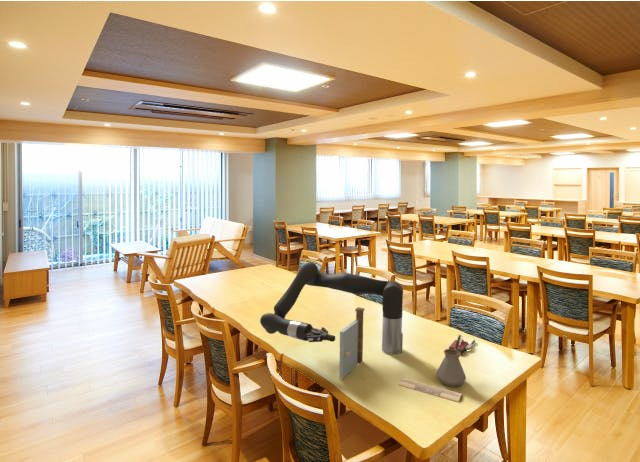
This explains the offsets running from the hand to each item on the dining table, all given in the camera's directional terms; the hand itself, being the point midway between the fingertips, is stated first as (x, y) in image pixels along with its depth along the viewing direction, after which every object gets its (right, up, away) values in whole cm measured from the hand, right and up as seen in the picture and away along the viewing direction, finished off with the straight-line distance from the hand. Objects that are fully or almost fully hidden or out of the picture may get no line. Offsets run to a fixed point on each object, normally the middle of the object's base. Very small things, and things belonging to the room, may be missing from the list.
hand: (334, 338), depth 166 cm
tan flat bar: (+37, -18, -12) cm, 43 cm away
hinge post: (+12, -14, +12) cm, 22 cm away
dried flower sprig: (+64, -13, +28) cm, 71 cm away
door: (+7, -14, +2) cm, 16 cm away
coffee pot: (+50, -16, -1) cm, 53 cm away
